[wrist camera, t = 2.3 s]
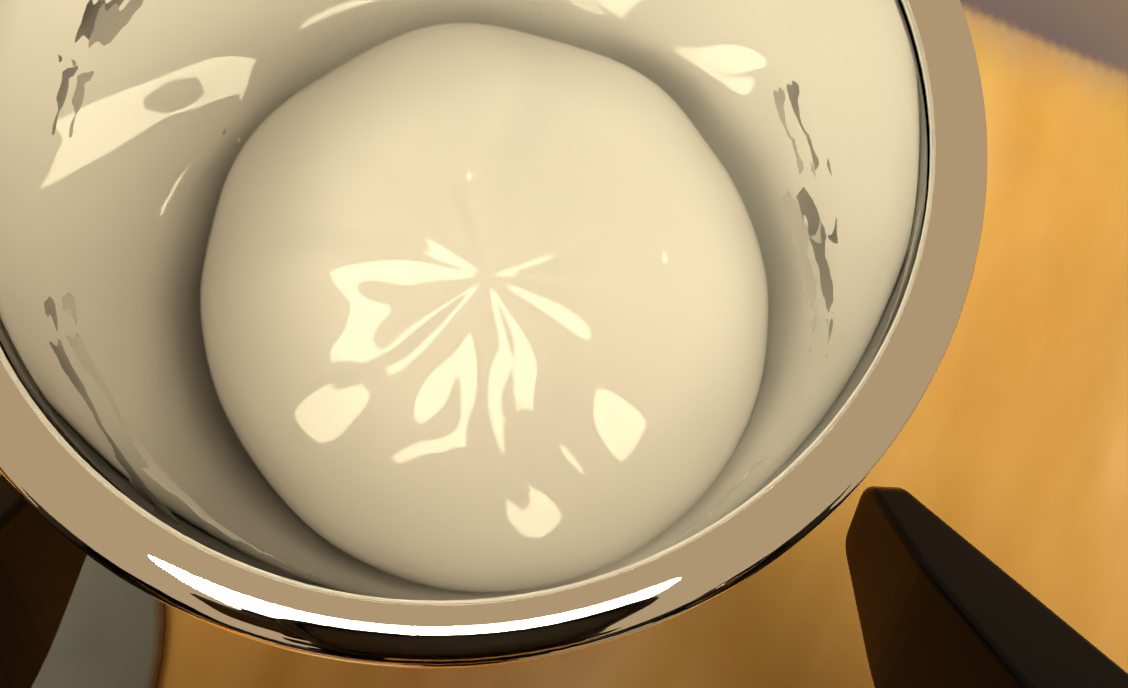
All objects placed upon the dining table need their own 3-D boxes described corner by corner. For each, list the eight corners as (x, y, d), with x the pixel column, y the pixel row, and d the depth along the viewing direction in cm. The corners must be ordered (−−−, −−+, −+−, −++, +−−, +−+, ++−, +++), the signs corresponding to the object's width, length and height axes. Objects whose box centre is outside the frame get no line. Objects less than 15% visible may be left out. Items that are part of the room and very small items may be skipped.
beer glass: (576, 226, 20) (703, -494, 6) (700, 474, 19) (1252, 368, 5) (322, 337, 20) (-302, -180, 5) (435, 604, 18) (71, 988, 4)
